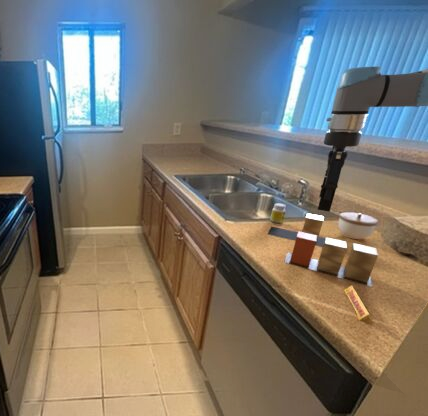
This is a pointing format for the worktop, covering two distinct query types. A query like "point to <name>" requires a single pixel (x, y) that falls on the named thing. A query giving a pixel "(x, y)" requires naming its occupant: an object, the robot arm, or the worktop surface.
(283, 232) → the mat
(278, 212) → the supplement bottle
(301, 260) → the block
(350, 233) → the trinket box
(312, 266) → the light grey flat rectangle
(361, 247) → the block
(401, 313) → the worktop surface
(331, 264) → the tan upright block
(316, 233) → the O block
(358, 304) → the chocolate bar
